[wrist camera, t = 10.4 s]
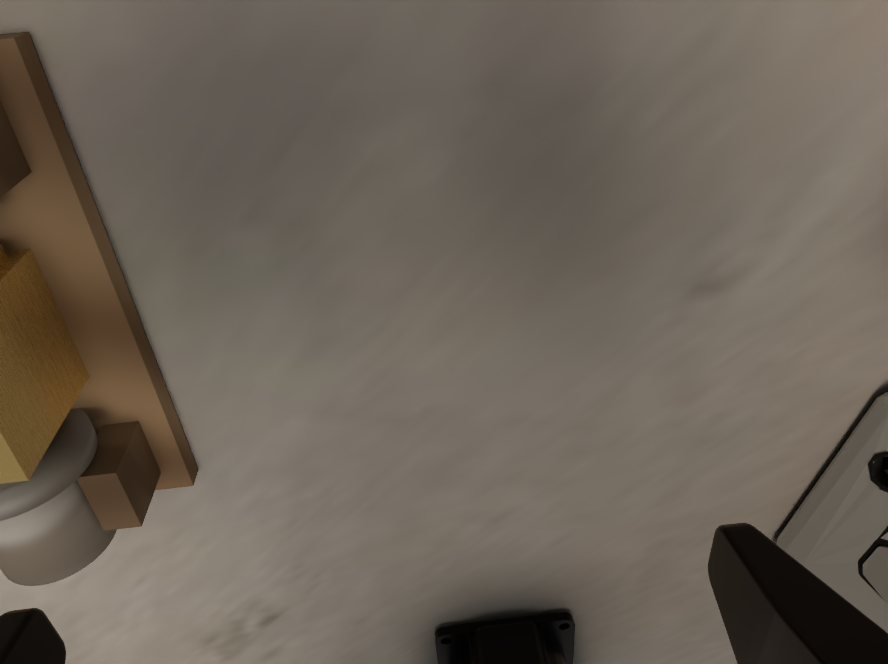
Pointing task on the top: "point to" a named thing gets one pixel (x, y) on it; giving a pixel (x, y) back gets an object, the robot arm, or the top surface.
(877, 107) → the top surface
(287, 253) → the top surface
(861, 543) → the electrical switch
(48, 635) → the robot arm
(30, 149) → the pipe cradle
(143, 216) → the top surface
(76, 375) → the yellow hollow block
